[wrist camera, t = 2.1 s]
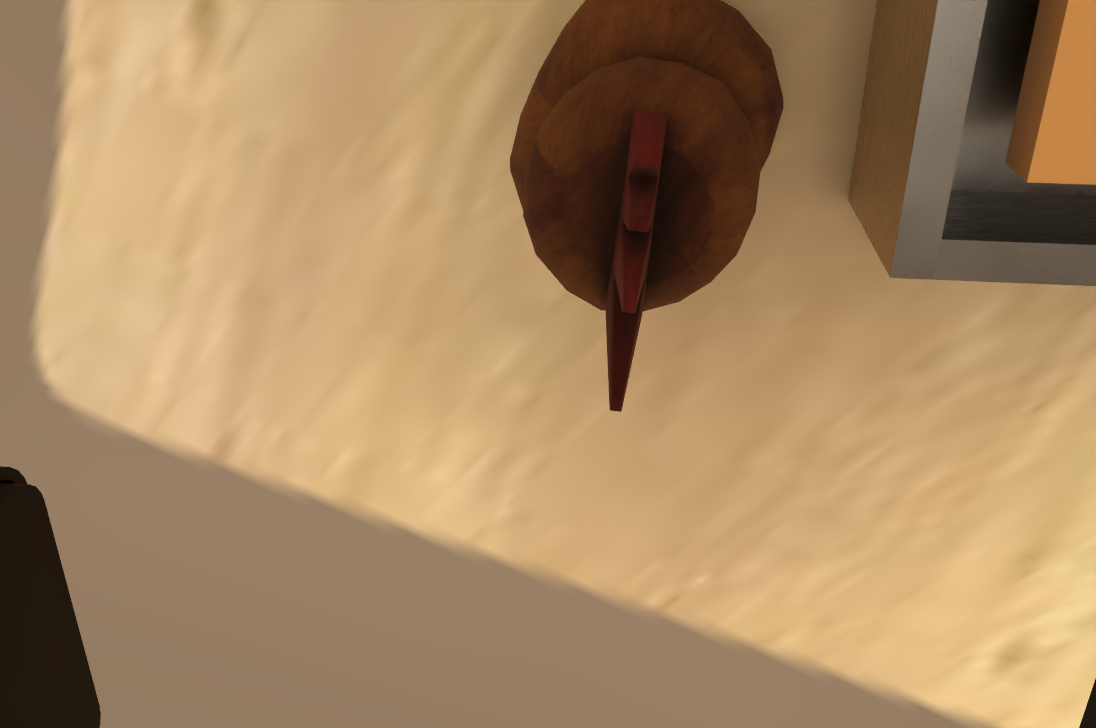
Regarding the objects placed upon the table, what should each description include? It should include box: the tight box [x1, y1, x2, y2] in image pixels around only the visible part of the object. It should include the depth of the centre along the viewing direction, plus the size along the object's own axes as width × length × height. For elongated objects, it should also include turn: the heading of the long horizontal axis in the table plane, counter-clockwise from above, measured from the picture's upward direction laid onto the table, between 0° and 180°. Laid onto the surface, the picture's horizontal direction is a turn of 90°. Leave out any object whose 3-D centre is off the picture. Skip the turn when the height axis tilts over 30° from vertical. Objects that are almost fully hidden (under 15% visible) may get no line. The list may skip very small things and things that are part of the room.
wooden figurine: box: [510, 0, 783, 412], centre depth 22 cm, size 7×6×15 cm
